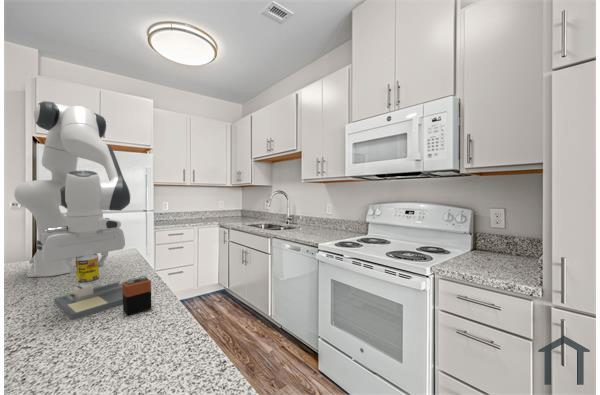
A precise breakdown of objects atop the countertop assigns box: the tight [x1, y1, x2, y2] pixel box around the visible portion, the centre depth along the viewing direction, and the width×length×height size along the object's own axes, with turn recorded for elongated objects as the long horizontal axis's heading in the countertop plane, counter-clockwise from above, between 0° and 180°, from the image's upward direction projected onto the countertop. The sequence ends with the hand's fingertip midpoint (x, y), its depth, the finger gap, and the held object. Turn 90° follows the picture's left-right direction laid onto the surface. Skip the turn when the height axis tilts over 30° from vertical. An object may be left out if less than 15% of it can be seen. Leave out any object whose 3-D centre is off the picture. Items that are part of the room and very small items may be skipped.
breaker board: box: [54, 281, 123, 321], centre depth 93 cm, size 18×18×3 cm
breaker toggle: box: [73, 283, 94, 299], centre depth 92 cm, size 4×4×4 cm
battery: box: [121, 275, 152, 316], centre depth 86 cm, size 4×7×10 cm, turn 137°
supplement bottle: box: [75, 250, 100, 286], centre depth 86 cm, size 6×6×10 cm
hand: (87, 269), depth 86 cm, fingers closed on supplement bottle, 5 cm apart
